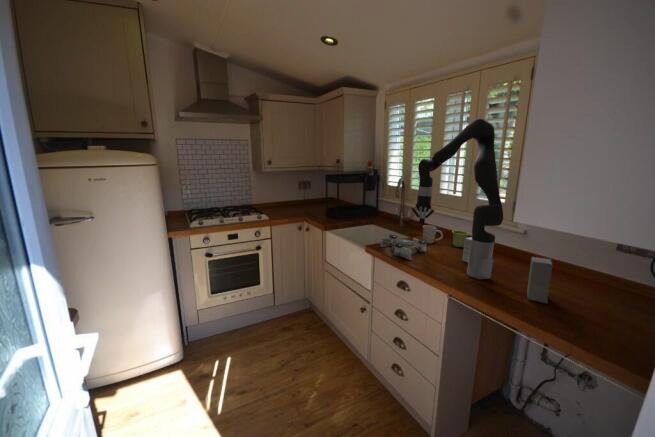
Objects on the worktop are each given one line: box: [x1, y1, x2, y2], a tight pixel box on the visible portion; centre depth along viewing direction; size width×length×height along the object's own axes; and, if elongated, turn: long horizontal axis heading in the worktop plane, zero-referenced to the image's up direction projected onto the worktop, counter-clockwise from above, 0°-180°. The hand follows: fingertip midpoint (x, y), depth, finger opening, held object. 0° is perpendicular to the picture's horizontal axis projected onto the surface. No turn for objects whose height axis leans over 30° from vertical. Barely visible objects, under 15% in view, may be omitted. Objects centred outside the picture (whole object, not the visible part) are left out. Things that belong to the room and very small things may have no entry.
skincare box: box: [526, 256, 554, 304], centre depth 116 cm, size 8×7×16 cm
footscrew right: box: [412, 237, 428, 253], centre depth 172 cm, size 11×5×6 cm, turn 16°
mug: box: [422, 224, 444, 244], centre depth 187 cm, size 8×13×10 cm, turn 82°
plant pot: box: [451, 230, 470, 248], centre depth 181 cm, size 9×9×9 cm
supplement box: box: [461, 236, 472, 264], centre depth 154 cm, size 7×7×13 cm
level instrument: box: [391, 238, 418, 255], centre depth 169 cm, size 14×14×6 cm
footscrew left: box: [393, 243, 413, 260], centre depth 158 cm, size 11×5×6 cm, turn 33°
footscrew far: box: [380, 234, 398, 248], centre depth 176 cm, size 11×5×6 cm, turn 118°
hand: (421, 224), depth 171 cm, fingers closed
